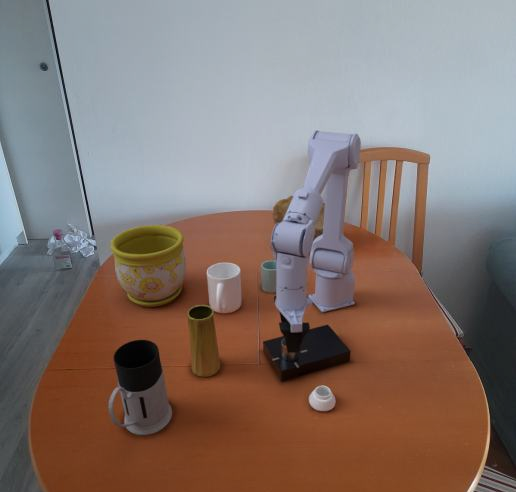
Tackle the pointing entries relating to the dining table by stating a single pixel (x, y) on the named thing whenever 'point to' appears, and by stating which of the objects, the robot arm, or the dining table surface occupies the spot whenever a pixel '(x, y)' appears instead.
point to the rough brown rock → (282, 208)
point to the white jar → (322, 399)
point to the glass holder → (141, 388)
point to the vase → (203, 341)
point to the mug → (224, 287)
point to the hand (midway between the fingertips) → (290, 339)
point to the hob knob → (285, 353)
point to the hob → (308, 353)
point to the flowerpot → (150, 263)
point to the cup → (268, 276)
